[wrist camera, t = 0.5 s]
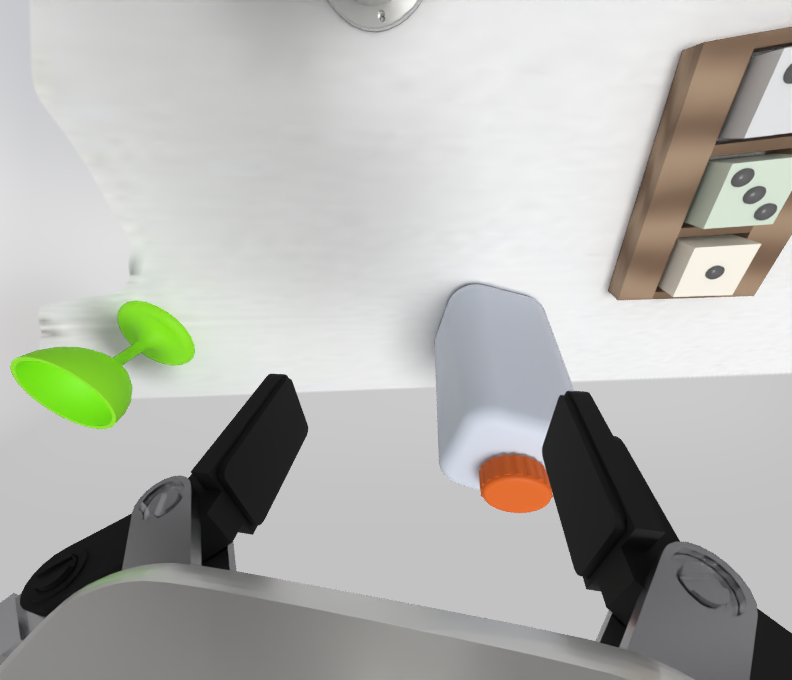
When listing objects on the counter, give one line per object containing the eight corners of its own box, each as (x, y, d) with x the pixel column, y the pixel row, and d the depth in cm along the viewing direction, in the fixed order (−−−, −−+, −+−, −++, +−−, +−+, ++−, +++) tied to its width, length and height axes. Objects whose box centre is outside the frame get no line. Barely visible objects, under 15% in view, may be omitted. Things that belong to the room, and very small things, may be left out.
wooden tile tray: (682, 50, 28) (704, 42, 25) (887, 14, 25) (935, 1, 22) (608, 290, 42) (617, 300, 39) (734, 285, 39) (753, 295, 36)
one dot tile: (672, 237, 35) (696, 248, 32) (732, 233, 34) (763, 244, 31) (654, 283, 39) (673, 297, 35) (708, 281, 37) (733, 295, 34)
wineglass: (102, 310, 60) (-11, 366, 45) (155, 292, 55) (48, 348, 40) (159, 369, 68) (78, 432, 53) (209, 358, 63) (136, 424, 48)
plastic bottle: (510, 372, 52) (555, 551, 30) (429, 351, 53) (412, 513, 30) (553, 300, 44) (664, 475, 21) (456, 274, 44) (460, 421, 21)
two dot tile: (743, 59, 27) (786, 47, 23) (827, 45, 25) (885, 30, 22) (712, 138, 30) (745, 138, 26) (784, 129, 29) (829, 128, 25)
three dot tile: (703, 161, 31) (734, 164, 28) (772, 153, 30) (814, 155, 26) (679, 220, 34) (704, 229, 31) (741, 215, 33) (774, 224, 30)
